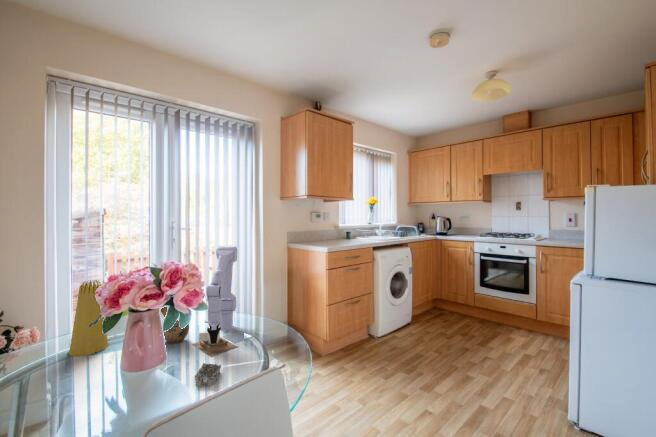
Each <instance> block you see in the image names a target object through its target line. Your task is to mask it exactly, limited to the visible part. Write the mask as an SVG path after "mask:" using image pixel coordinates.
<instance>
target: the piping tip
mask: <svg viewBox="0 0 656 437" xmlns="http://www.w3.org/2000/svg"><path fill="white" fill-rule="evenodd" d="M101 285H102V286H103V284H102V283H101V282H100V281H99V280H96V279H94V280H91V279H90V281H89V280H87V281H84V282H82V283H81V284H80V285H79V288H78V294H77V299H76V300H77V301H76V306H75V307H76V308H75V315H74V320H73V321H74V322H73V326H72V334H71V340H70V346H69V350H68V355H69V356H72V357H83V356H84V357H85V356H89V355H93V354H96V353H95V352H97V353H99V352H102V351H104V350H105V348H106V347H107V348H108V347H109V339H108V333H107V334H105V335H104V334H103V333H102V322H103V319H104V317H102V318H100V320H99V321H98V323H96V324H95V325H93V326H91V327H89V325H90V324H91V323H93V322H94V321H95V320H96V319H97V318H98V317H99V315H100V313H101V310H100V305H99V304H98V303H97V301H96V298H95V291H96V289H97V288H98V287H99V286H101ZM107 348H106V349H107ZM103 349H104V350H103ZM101 350H102V351H101ZM92 353H93V354H92Z"/></svg>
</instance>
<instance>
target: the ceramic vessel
mask: <svg viewBox="0 0 656 437" xmlns="http://www.w3.org/2000/svg"><path fill="white" fill-rule="evenodd" d="M166 312H167V307H164V308H162V309H161V311H160V313H161V314H162V316H163V318H164V317H165V315H166ZM189 332H190V323H189V324H188V325H187V326H186V327H185V328H183V329H181V328H180V327H179V321H178V320H177V321H176V323H175V324H174V326H173V327H172V328H171V329H169V330H168V331H166V332H164V336H165V339H164V341H165V342H167V343H170V344H178V343H181V342H183V341H184V340H185V339H186V337H187V336H188V335H189Z"/></svg>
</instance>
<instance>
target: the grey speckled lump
mask: <svg viewBox="0 0 656 437" xmlns="http://www.w3.org/2000/svg"><path fill="white" fill-rule="evenodd" d="M221 368H222V365H221V364H219V365H218V364H217V363H204V362H203V363H202V365H201V367H200V368H198V371H197V372H196V374H195V375H194V381H195V386H197V387H199V388H201V387H203V386H207V387H211V386H213V385H216V383H217V380H218V378H219V375H220V374H221ZM205 373H206V378H207V379H203V378H204V377H205Z"/></svg>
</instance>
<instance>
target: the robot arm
mask: <svg viewBox="0 0 656 437" xmlns="http://www.w3.org/2000/svg"><path fill="white" fill-rule="evenodd" d="M215 255H216V259H217V260H218V261H217V267H216V270H215V271H214V272H213V274H212V276H211V280H210V284H209V285H207V288H206V294H205V295H206V301H207V319H205V320H204V323H205V324H208V326H209V327H207V328H206V329H207V330H206V332H207V331H208V333H209V336H210V341H211V344H215V343H216V342H217V337H218V334H219V331H220V332H225V331H227V332H228V331H229V330H232V329H236V328H237V327H236V326H234V324H233V322H234V319H233V318H234V312H235V311H236V309H237V296H236V295H235V294H233V292H232V285H233V283H232V282H233V271H234V270H233V268H234V263H235V262H237V260H238V247H237V246H236V245H235V246H221V245H219V246H217V248H216V250H215Z"/></svg>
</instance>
